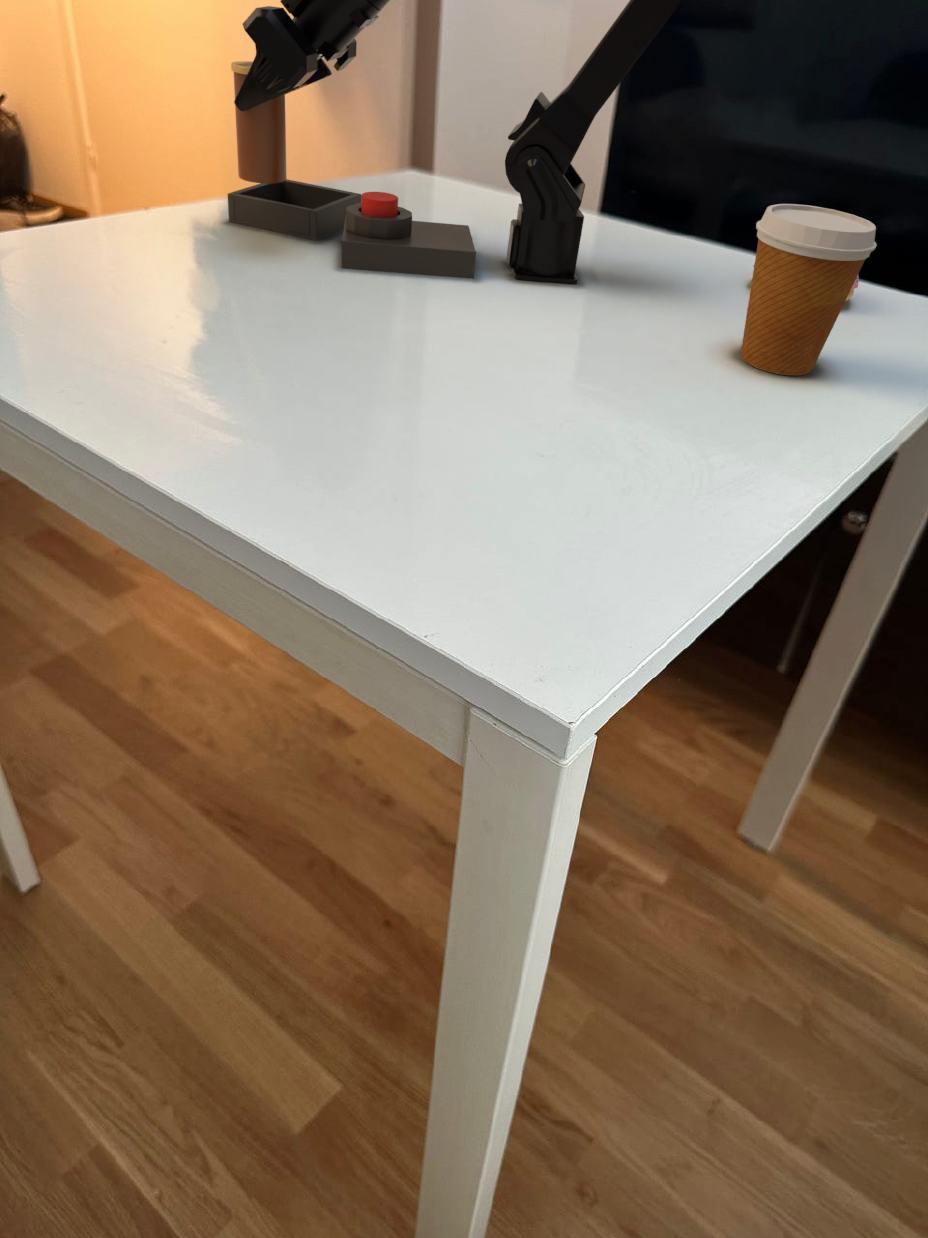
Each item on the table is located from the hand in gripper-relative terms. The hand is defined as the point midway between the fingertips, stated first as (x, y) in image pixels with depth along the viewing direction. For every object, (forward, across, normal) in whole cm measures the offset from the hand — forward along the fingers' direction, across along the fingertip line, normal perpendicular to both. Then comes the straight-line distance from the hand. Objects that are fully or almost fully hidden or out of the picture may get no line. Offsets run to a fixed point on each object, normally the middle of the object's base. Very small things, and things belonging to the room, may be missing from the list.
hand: (247, 103), depth 91 cm
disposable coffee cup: (-29, +16, +46) cm, 57 cm away
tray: (+6, -6, +11) cm, 14 cm away
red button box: (-4, +2, +21) cm, 21 cm away
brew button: (-4, +3, +16) cm, 16 cm away
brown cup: (+4, 0, +6) cm, 7 cm away
